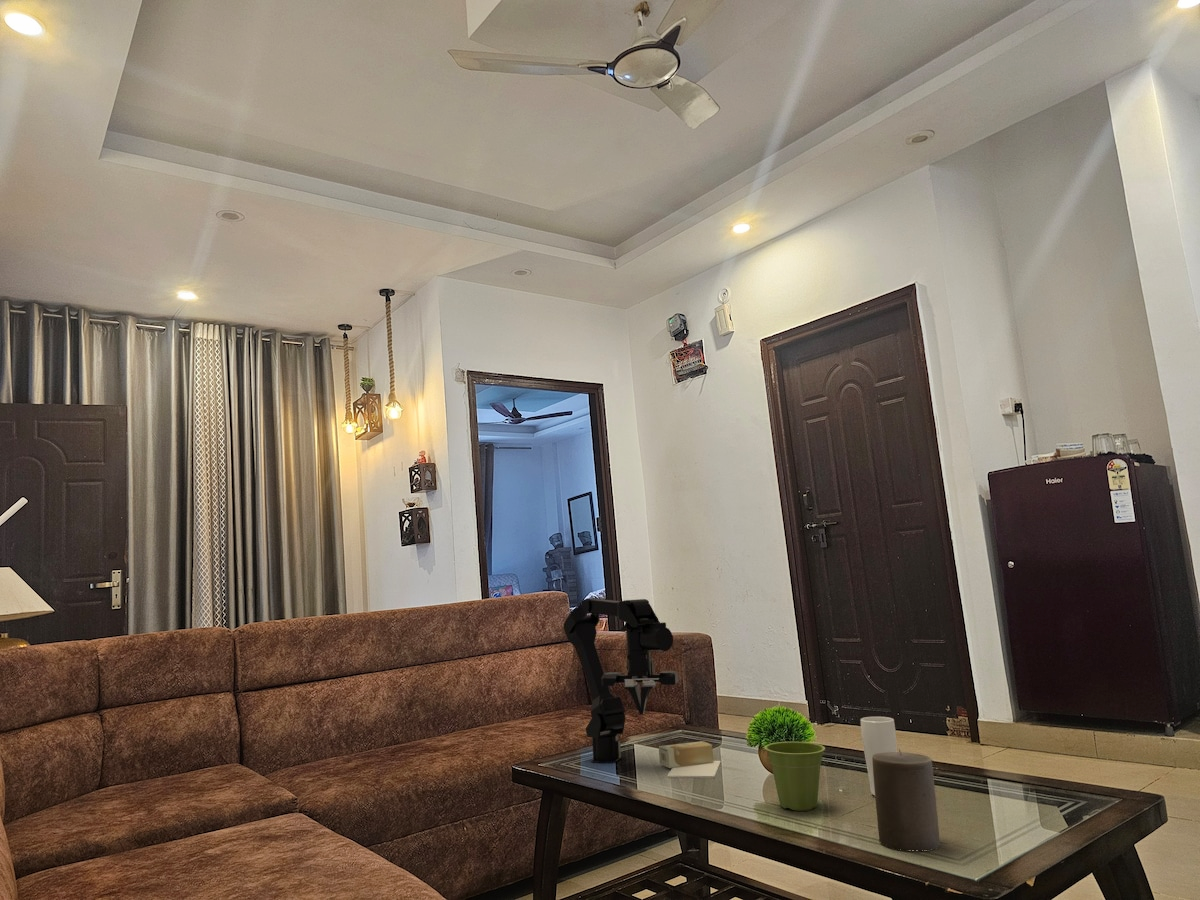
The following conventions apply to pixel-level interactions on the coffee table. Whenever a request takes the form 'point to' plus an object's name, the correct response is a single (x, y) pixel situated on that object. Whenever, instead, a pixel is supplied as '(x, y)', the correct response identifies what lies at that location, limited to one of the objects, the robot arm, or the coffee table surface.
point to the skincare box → (685, 754)
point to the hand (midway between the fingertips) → (641, 714)
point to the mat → (696, 770)
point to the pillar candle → (905, 801)
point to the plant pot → (796, 773)
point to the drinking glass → (877, 740)
